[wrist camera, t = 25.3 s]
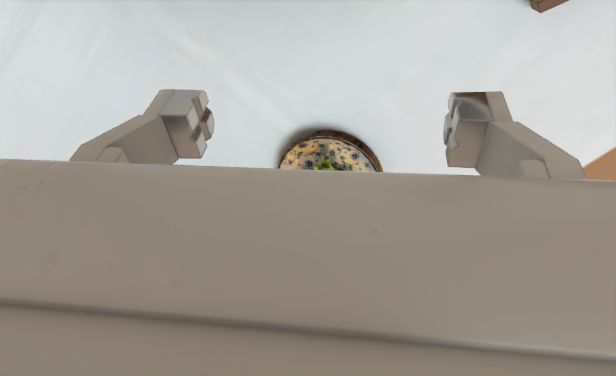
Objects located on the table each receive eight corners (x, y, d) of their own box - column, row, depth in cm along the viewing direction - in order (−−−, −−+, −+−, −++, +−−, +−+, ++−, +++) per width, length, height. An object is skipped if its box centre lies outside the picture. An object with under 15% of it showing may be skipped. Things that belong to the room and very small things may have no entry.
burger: (305, 110, 43) (284, 137, 37) (406, 163, 43) (401, 199, 37) (266, 195, 49) (242, 230, 43) (353, 241, 49) (342, 283, 43)
